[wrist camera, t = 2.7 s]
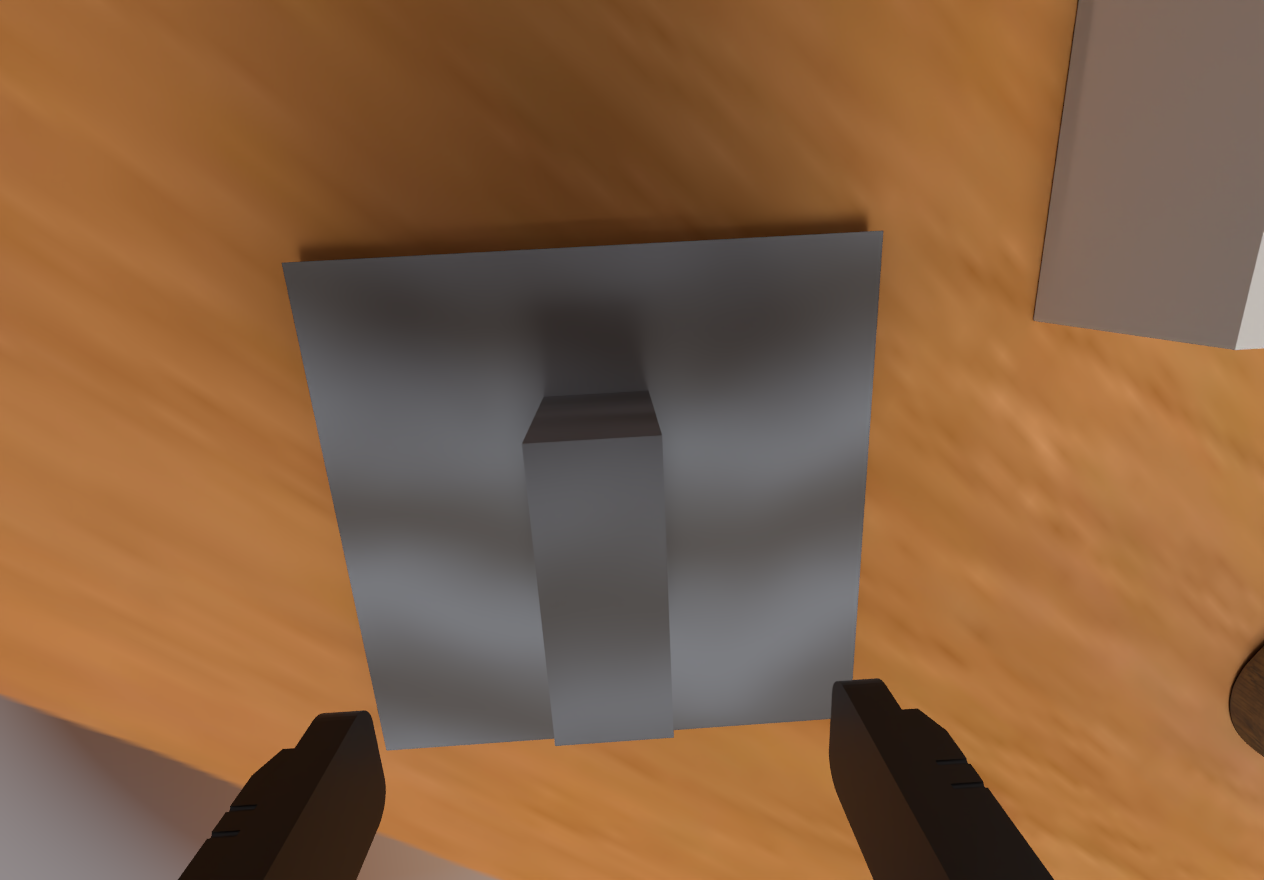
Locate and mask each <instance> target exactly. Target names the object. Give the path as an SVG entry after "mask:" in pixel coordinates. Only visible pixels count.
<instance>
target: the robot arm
mask: <svg viewBox="0 0 1264 880" xmlns="http://www.w3.org/2000/svg"><path fill="white" fill-rule="evenodd" d="M829 761H830V769H831V774H832V779H833V783H834V786H835V789H836V792H837V795H838V797H839V800H840V802H841V804H842V807H843V809H844V811H845V814H846V816H847V819H848V821H849V823H850V826H851V828H852V830H853V833H854V835H855V837H856V840H857V842H858V844H859V847H860V849H861V851H862V854H863V856H864V858H865V861H866V863H867V865H868V868H869V870H870V872H871V875H872V877H873V879H874V880H1054V879H1053V878H1052V876H1051V875H1050V873H1049V872H1048V871H1047V869H1046V868H1045V866H1044V865H1043V864H1042V862H1041V861H1040V859H1039V858H1038V857H1037V855H1036V854H1035V853H1034V851H1033V850H1032V848H1031V847H1030V846H1029V844H1028V843H1027V841H1026V840H1025V839H1024V837H1023V836H1022V835H1021V833H1020V832H1019V830H1018V829H1017V828H1016V826H1015V825H1014V823H1013V822H1012V821H1011V819H1010V818H1009V817H1008V815H1007V814H1006V812H1005V811H1004V810H1003V808H1002V807H1001V805H1000V804H999V803H998V801H997V800H996V799H995V797H994V796H993V794H992V793H991V792H990V790H989V789H988V788H985V787H984V784H983V781H982V779H981V778H980V776H979V775H978V774H977V772H976V771H975V769H974V768H973V767H972V765H971V764H968V763H967V759H966V757H965V756H964V754H963V753H962V751H961V750H960V749H959V747H958V746H957V744H956V743H955V742H954V740H953V739H952V738H951V736H950V735H949V733H948V732H947V731H946V730H945V729H944V728H942V727H941V726H940V725H938V724H937V723H936V722H935V721H933V720H932V719H931V718H929V717H928V716H927V715H925V714H924V713H923V712H922V711H920V710H919V709H904V710H902V709H901V708H900V706H899V705H898V703H897V702H896V700H895V698H894V697H893V695H892V694H891V692H890V691H889V689H888V688H887V686H886V685H885V684H884V682H883V681H882V680H880V679H862V680H847V681H836V682H835V683H834V684H833V688H832V701H831V721H830V741H829ZM385 794H386V786H385V778H384V773H383V768H382V763H381V759H380V754H379V749H378V744H377V740H376V735H375V730H374V725H373V721H372V718H371V715H370V714H369V712H367V711H351V712H335V713H322V714H320V715H318V716H317V717H316V718H315V719H314V720H313V721H312V723H311V724H310V726H309V727H308V729H307V730H306V732H305V733H304V735H303V737H302V738H301V740H300V741H299V743H298V744H297V746H296V747H295V748H292V749H282V750H281V751H280V752H279V753H278V754H276V755H275V756H274V757H273V758H272V759H271V760H270V761H268V762H267V763H266V764H265V765H264V766H263V767H261V768H260V769H259V770H258V771H257V772H256V773H254V774H253V775H252V776H251V778H250V779H249V780H248V782H247V783H246V785H245V786H244V787H243V789H242V790H241V792H240V793H239V795H238V796H237V797H236V799H235V800H234V802H233V803H232V804H231V806H230V811H229V812H226V813H225V814H224V816H223V817H222V818H221V820H220V821H219V823H218V824H217V825H216V827H215V828H214V830H213V831H212V836H211V838H210V839H207V840H206V841H205V843H204V844H203V845H202V847H201V848H200V849H199V851H198V852H197V854H196V855H195V856H194V858H193V859H192V861H191V862H190V864H189V865H188V866H187V868H186V869H185V871H184V872H183V873H182V875H181V876H180V878H179V879H178V880H356V879H357V877H358V874H359V872H360V869H361V867H362V865H363V862H364V860H365V858H366V855H367V853H368V850H369V848H370V846H371V843H372V841H373V839H374V836H375V834H376V831H377V829H378V827H379V824H380V821H381V818H382V814H383V810H384V805H385Z"/></svg>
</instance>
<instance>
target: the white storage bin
mask: <svg viewBox="0 0 1264 880" xmlns="http://www.w3.org/2000/svg"><path fill="white" fill-rule="evenodd" d="M1034 321H1038V322H1045V323H1052V324H1059V325H1066V326H1073V327H1080V328H1087V329H1094V330H1101V331H1108V332H1115V333H1122V334H1128V335H1135V336H1142V337H1149V338H1156V339H1163V340H1170V341H1177V342H1184V343H1191V344H1198V345H1205V346H1212V347H1218V348H1225V349H1232V350H1241V349H1258V348H1264V0H1079V3H1078V10H1077V17H1076V24H1075V31H1074V38H1073V45H1072V52H1071V59H1070V66H1069V73H1068V80H1067V88H1066V95H1065V102H1064V109H1063V116H1062V123H1061V130H1060V137H1059V144H1058V151H1057V158H1056V165H1055V172H1054V179H1053V187H1052V194H1051V201H1050V208H1049V215H1048V222H1047V229H1046V236H1045V243H1044V250H1043V257H1042V264H1041V271H1040V278H1039V286H1038V293H1037V300H1036V307H1035V314H1034Z"/></svg>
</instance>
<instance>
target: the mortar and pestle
mask: <svg viewBox="0 0 1264 880" xmlns="http://www.w3.org/2000/svg"><path fill="white" fill-rule="evenodd" d="M1230 712H1231V718H1232V722H1233V724H1234V727H1235V729H1236V731H1237V732H1238V734H1239V735H1240V736H1241V738H1242V739H1243V740H1244V741H1245V742H1246V743H1247V744H1248V745H1249V746H1250V747H1252V748H1253V749H1254V750H1255V751H1257V752H1258V753H1259V754H1261V755H1262V756H1263V757H1264V646H1263V647H1262V648H1261V650H1260V651H1259V652H1258V653H1257V654H1256V655H1255V656H1254V657H1253V658H1252V659H1251V660H1250V661H1249V662H1248V663H1247V665H1246V666H1245V667H1244V668H1243V670H1242V671H1241V673H1240V675H1239V676H1238V678H1237V680H1236V682H1235V684H1234V686H1233V690H1232V694H1231V700H1230Z"/></svg>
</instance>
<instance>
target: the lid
mask: <svg viewBox="0 0 1264 880" xmlns="http://www.w3.org/2000/svg"><path fill="white" fill-rule="evenodd" d="M882 242H883V231H870V232H851V233H832V234H814V235H795V236H776V237H757V238H739V239H720V240H701V241H682V242H664V243H645V244H626V245H607V246H588V247H570V248H551V249H532V250H513V251H495V252H476V253H457V254H438V255H420V256H401V257H382V258H363V259H345V260H326V261H307V262H288V263H282V267H283V271H284V276H285V281H286V285H287V290H288V295H289V299H290V304H291V309H292V313H293V318H294V323H295V327H296V332H297V336H298V341H299V346H300V350H301V355H302V360H303V364H304V369H305V374H306V378H307V383H308V388H309V392H310V397H311V402H312V406H313V411H314V415H315V420H316V425H317V429H318V434H319V439H320V443H321V448H322V453H323V457H324V462H325V467H326V471H327V476H328V481H329V485H330V490H331V494H332V499H333V504H334V508H335V513H336V518H337V522H338V527H339V532H340V536H341V541H342V546H343V550H344V555H345V560H346V564H347V569H348V573H349V578H350V583H351V587H352V592H353V597H354V601H355V606H356V611H357V615H358V620H359V625H360V629H361V634H362V638H363V643H364V648H365V652H366V657H367V662H368V666H369V671H370V676H371V680H372V685H373V690H374V694H375V699H376V704H377V708H378V713H379V717H380V722H381V727H382V731H383V736H384V741H385V745H386V750H400V749H414V748H428V747H442V746H456V745H470V744H484V743H498V742H512V741H526V740H540V739H555V746H561V745H575V744H589V743H603V742H617V741H631V740H645V739H659V738H673V737H674V732H673V730H680V729H694V728H709V727H723V726H737V725H751V724H765V723H779V722H793V721H807V720H821V719H831V701H832V688H833V684H834V683H835V682H836V681H847V680H852V679H853V664H854V650H855V635H856V620H857V606H858V591H859V577H860V562H861V548H862V533H863V519H864V504H865V490H866V475H867V460H868V446H869V431H870V417H871V402H872V388H873V373H874V359H875V344H876V330H877V315H878V300H879V286H880V271H881V257H882Z"/></svg>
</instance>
